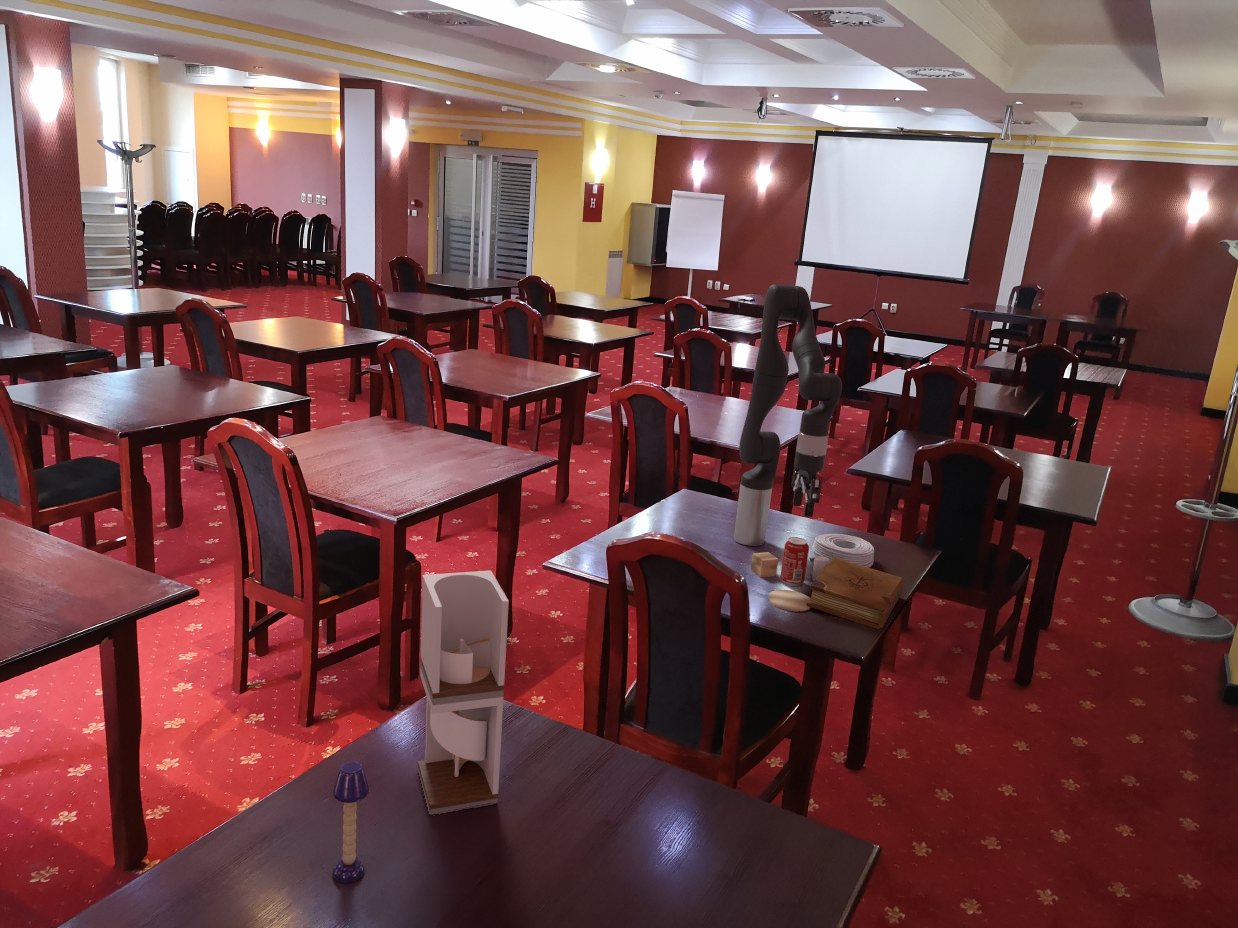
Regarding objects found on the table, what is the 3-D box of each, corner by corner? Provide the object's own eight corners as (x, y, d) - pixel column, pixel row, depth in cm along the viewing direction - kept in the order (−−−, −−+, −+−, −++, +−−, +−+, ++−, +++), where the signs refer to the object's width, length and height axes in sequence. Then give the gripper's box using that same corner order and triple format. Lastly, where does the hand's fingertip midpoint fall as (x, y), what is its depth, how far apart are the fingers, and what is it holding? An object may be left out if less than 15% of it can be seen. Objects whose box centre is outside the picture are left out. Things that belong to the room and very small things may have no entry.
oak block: (750, 570, 243) (752, 553, 241) (766, 569, 245) (768, 552, 243) (760, 577, 238) (762, 560, 237) (775, 576, 240) (778, 559, 239)
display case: (417, 771, 147) (422, 574, 137) (481, 762, 151) (490, 570, 141) (429, 815, 137) (435, 606, 127) (497, 804, 140) (508, 600, 131)
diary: (881, 630, 213) (886, 609, 212) (806, 606, 221) (810, 585, 220) (900, 597, 233) (905, 577, 231) (830, 576, 241) (834, 556, 239)
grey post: (809, 576, 242) (812, 555, 240) (824, 576, 242) (826, 556, 241) (814, 582, 238) (816, 561, 237) (829, 582, 239) (831, 561, 237)
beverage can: (802, 579, 240) (808, 537, 236) (804, 588, 234) (811, 545, 230) (778, 576, 240) (784, 534, 237) (780, 585, 234) (786, 543, 231)
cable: (806, 564, 251) (810, 544, 249) (814, 545, 267) (817, 526, 265) (870, 577, 246) (874, 557, 244) (874, 556, 262) (877, 537, 260)
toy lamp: (337, 858, 126) (336, 756, 122) (370, 858, 127) (371, 757, 122) (329, 883, 122) (328, 778, 117) (364, 883, 122) (365, 778, 118)
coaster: (762, 592, 229) (763, 589, 229) (803, 592, 231) (803, 590, 231) (775, 611, 219) (776, 608, 218) (818, 611, 220) (819, 608, 220)
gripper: (787, 442, 233) (779, 501, 237) (806, 457, 219) (797, 519, 224) (815, 444, 234) (806, 502, 239) (835, 458, 221) (826, 520, 225)
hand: (802, 510), depth 231 cm, fingers open, 8 cm apart
